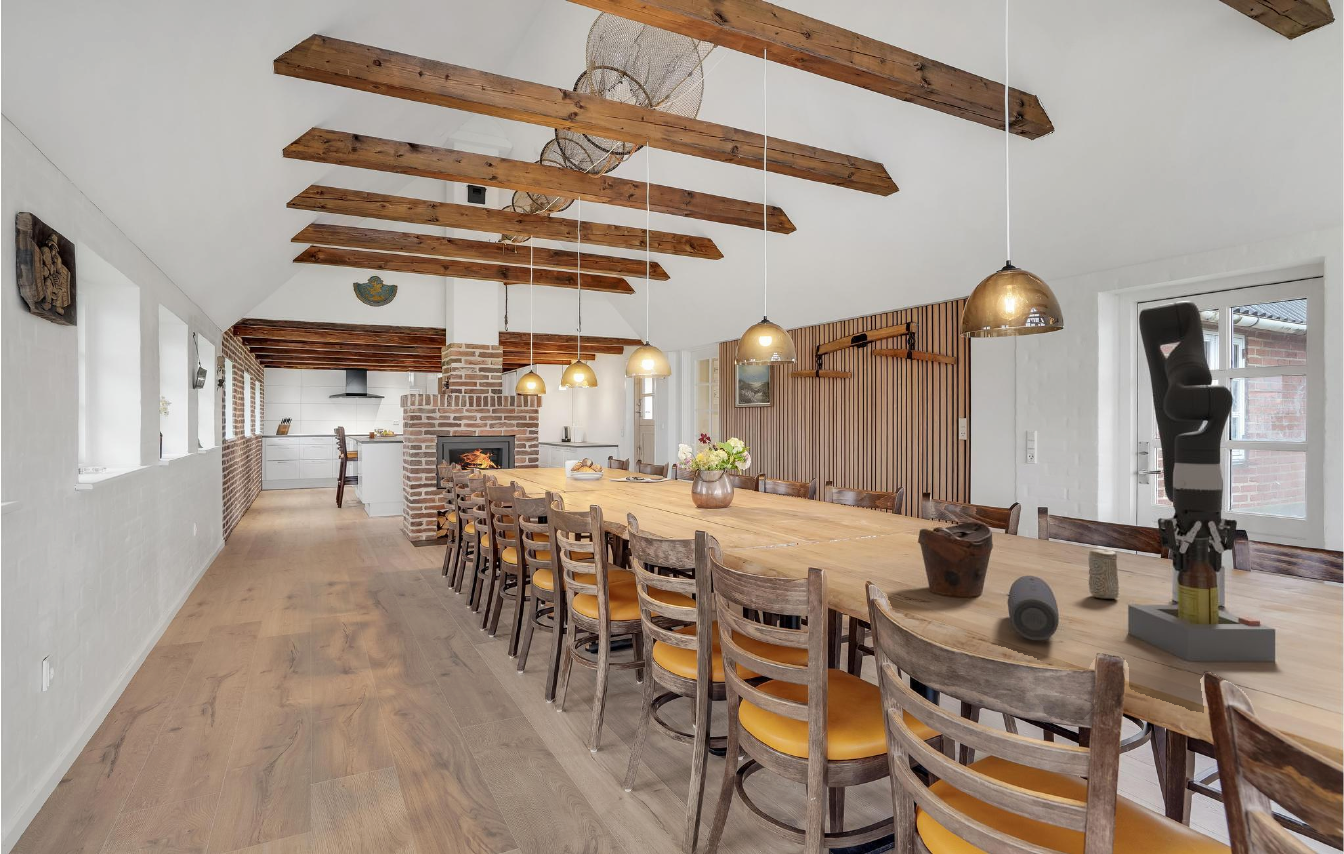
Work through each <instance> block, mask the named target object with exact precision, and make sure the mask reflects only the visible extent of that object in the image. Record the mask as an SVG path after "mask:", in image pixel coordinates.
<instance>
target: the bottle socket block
mask: <svg viewBox="0 0 1344 854" xmlns="http://www.w3.org/2000/svg"><path fill="white" fill-rule="evenodd" d="M1127 605H1128V606H1127V607H1128V608H1127V611H1128V614H1127V615H1128V616H1127V624H1128V625H1127V628H1128V629H1127V632H1128V634H1129V635H1130V636H1133V637H1135V638H1137V639H1139V640H1141V641H1144V642H1145V643H1148V644H1150V645H1152V646H1155V647H1157V648H1159V649H1161V650H1163V651H1165V652H1167V653H1169V654H1172V655H1174V656H1176V657H1179V658H1180V659H1183V660H1185V661H1186V662H1253V663H1254V662H1262V663H1263V662H1264V663H1266V662H1267V663H1269V662H1273V663H1274V662H1276V629H1275V628H1272V627H1269V626H1267V625H1265V624H1261V621H1260V620H1258V619H1255V618H1252V617H1246V616H1245V617H1244V616H1238V615H1235V614H1233V613H1229V612H1226V611H1223V610H1221V609H1218V612H1219V624H1193V623H1190V622H1188V621H1185V620H1183V619H1180V618H1178V604H1127Z"/></svg>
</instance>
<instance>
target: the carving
mask: <svg viewBox="0 0 1344 854" xmlns="http://www.w3.org/2000/svg"><path fill="white" fill-rule="evenodd" d="M1088 553H1089V554H1088V575H1089V577H1088V589H1089V593H1090V594H1091V596H1092V597H1094V598H1098V599H1111V600H1113V599H1118V598H1119V594H1120V591H1119V589H1120V586H1119V576H1118V566H1117V565H1118V562H1117V561H1118V554H1117V552H1116V551H1114V550H1111V549H1098V548H1097V549H1095V548H1094V549H1090V551H1089V552H1088Z"/></svg>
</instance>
